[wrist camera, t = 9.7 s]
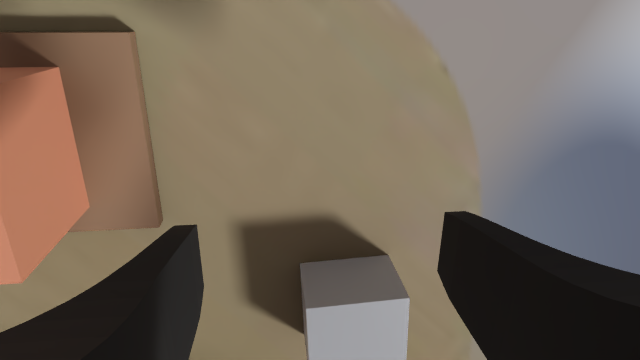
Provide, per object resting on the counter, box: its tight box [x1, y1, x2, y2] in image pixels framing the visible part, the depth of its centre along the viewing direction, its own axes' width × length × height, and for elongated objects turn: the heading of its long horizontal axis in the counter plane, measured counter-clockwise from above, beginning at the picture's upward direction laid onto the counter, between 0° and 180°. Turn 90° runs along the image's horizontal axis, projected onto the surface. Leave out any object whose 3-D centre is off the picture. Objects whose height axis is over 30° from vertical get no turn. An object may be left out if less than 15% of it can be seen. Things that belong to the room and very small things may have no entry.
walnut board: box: [0, 32, 163, 232], centre depth 19 cm, size 10×9×1 cm
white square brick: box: [300, 255, 410, 360], centre depth 23 cm, size 5×5×4 cm
